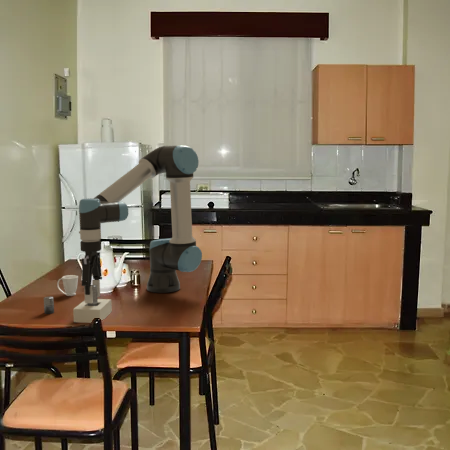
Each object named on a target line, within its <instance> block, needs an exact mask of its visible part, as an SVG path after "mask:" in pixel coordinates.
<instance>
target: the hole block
mask: <svg viewBox="0 0 450 450" xmlns="http://www.w3.org/2000/svg"><path fill="white" fill-rule="evenodd" d="M97 299H98V306H88V303H85V299H84V300H82V302H80V303H79V304H78V305H76V306H75V307H74V308H73V309H72V310H73V311H72V312H73V323H84V324H87V323H90V324H91V322H92V320H93V319H94V318H100V319H101V320H103V319H104V320H105V319H106V318H108V316H109V315H110V314H111V313H112V311H113V310H112V309H113V307H112V306H113V305H112V299H111V298H110V299H108V298H104V299H103V298H97ZM104 320H103V321H104Z"/></svg>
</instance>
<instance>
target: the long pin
mask: <svg viewBox="0 0 450 450" xmlns="http://www.w3.org/2000/svg"><path fill="white" fill-rule="evenodd" d="M91 285H92V284H91ZM92 296H93V303H88V306H98V299H99V298H98V297H97V285H92Z"/></svg>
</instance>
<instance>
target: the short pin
mask: <svg viewBox="0 0 450 450" xmlns="http://www.w3.org/2000/svg"><path fill="white" fill-rule="evenodd" d="M43 312H44V314H46V315H51V314H54V313H55V302H54V296H51V295H50V296H44V297H43Z"/></svg>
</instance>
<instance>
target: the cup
mask: <svg viewBox="0 0 450 450" xmlns="http://www.w3.org/2000/svg"><path fill="white" fill-rule="evenodd" d="M78 280H79V275H77V274H76V275H75V274H70V275H69V274H67V275H63V276H62V277H61V278H59V279H58V280H57V285H56V286H57V289H58V290H59V291H60V292H61V294H64V295H65V296H67V297H72V296H73V297H74V296H76V295H77V293H76V292H77V290H78V282H79V281H78ZM60 281H62V285H63V290H64V291H63V290H62V289H61V288H60V285H59V284H60Z"/></svg>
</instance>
